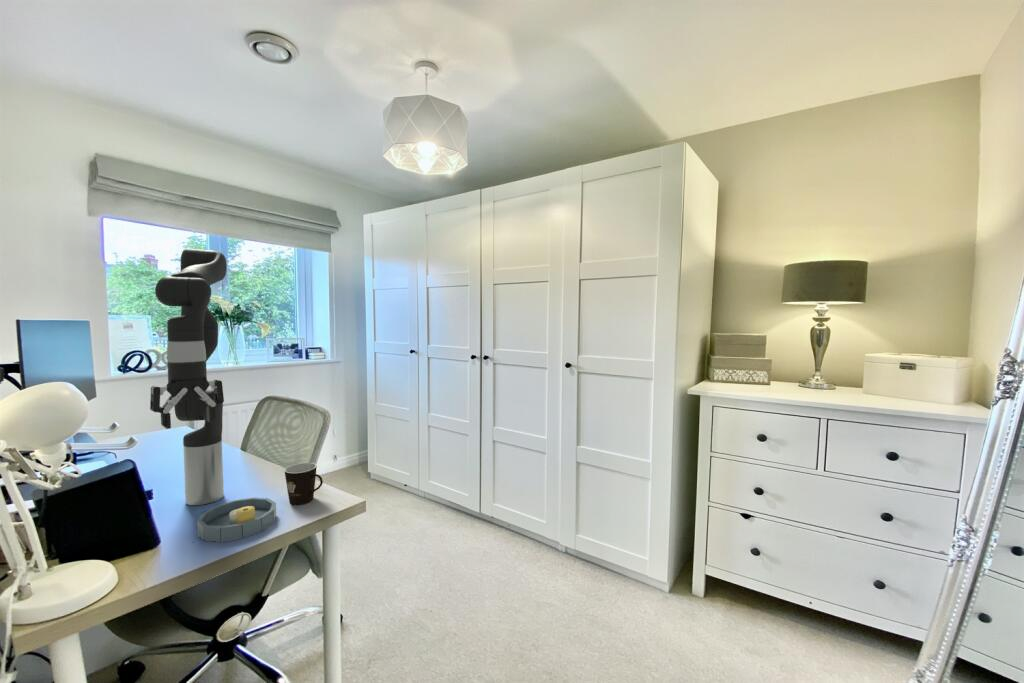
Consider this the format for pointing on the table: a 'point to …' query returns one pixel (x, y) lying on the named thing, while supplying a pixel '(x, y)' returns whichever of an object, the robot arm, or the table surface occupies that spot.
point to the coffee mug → (301, 482)
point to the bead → (245, 514)
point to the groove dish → (237, 531)
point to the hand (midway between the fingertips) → (189, 424)
